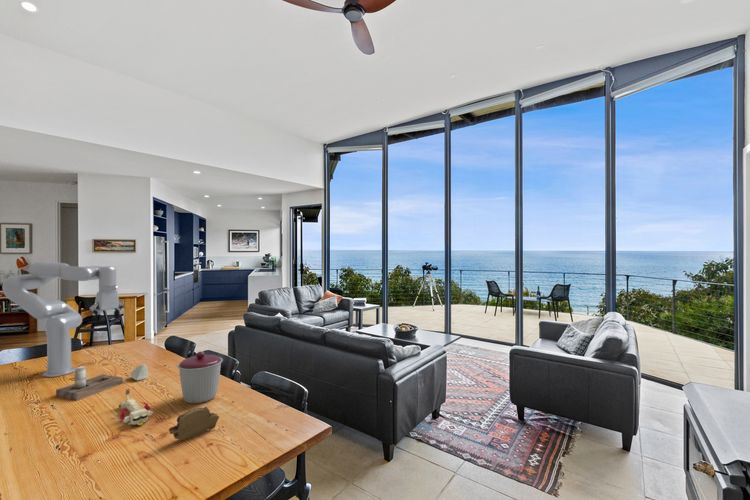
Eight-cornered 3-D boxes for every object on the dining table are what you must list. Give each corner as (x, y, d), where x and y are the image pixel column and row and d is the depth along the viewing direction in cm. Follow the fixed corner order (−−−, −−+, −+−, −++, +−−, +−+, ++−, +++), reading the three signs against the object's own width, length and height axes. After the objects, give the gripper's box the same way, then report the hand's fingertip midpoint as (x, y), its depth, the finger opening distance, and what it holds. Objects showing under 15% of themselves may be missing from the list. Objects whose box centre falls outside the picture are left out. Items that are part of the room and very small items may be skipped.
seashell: (151, 369, 184) (152, 365, 178) (143, 385, 178) (144, 381, 173) (134, 365, 181) (135, 361, 175) (126, 381, 175) (127, 378, 170)
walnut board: (56, 396, 155) (56, 389, 155) (102, 380, 174) (102, 374, 174) (77, 400, 151) (77, 393, 151) (122, 383, 170) (122, 377, 170)
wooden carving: (214, 424, 130) (214, 398, 130) (220, 428, 127) (219, 402, 127) (166, 443, 117) (166, 415, 117) (171, 448, 114) (171, 419, 114)
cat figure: (112, 413, 142) (125, 430, 125) (112, 391, 142) (124, 406, 125) (141, 405, 149) (156, 420, 132) (140, 385, 150) (156, 397, 132)
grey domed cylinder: (72, 394, 157) (72, 368, 157) (82, 391, 161) (82, 365, 161) (78, 395, 156) (78, 369, 156) (88, 392, 160) (88, 366, 160)
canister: (204, 409, 142) (204, 359, 142) (167, 405, 146) (167, 356, 146) (230, 392, 160) (230, 347, 160) (197, 388, 163) (197, 345, 163)
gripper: (118, 287, 196) (118, 316, 196) (85, 290, 180) (85, 322, 180) (128, 287, 194) (128, 317, 194) (95, 291, 177) (95, 323, 178)
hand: (107, 319), depth 187 cm, fingers open, 9 cm apart
